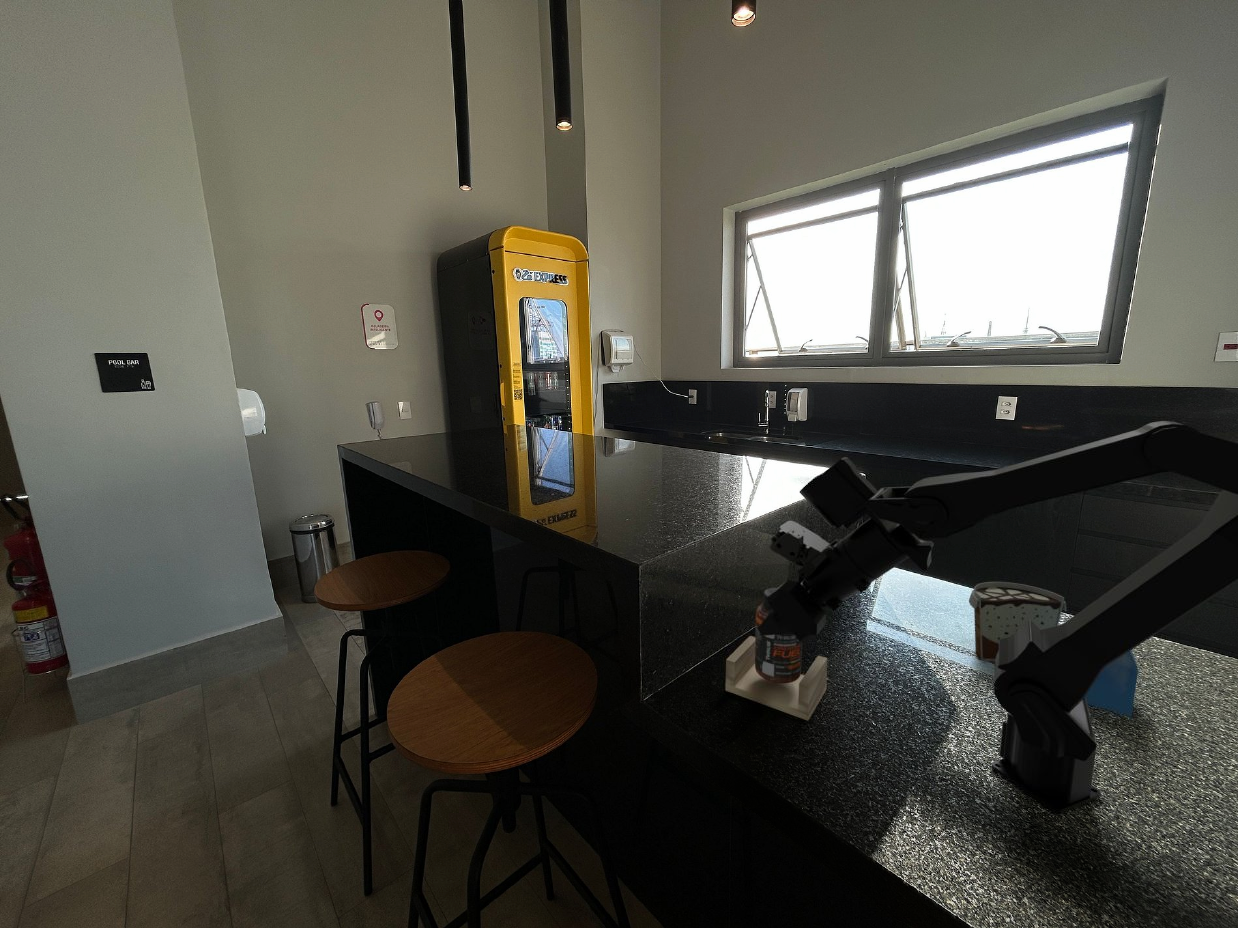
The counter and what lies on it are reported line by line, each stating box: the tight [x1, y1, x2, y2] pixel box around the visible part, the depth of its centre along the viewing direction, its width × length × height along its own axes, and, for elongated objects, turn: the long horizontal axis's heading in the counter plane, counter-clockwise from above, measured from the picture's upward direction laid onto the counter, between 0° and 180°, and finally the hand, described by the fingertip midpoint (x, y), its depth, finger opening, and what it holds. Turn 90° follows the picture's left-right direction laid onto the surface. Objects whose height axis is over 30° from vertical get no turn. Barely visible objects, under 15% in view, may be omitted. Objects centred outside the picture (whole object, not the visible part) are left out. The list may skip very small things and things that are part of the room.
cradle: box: [725, 635, 828, 721], centre depth 69 cm, size 11×8×4 cm
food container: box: [968, 581, 1068, 662], centre depth 77 cm, size 12×6×10 cm, turn 84°
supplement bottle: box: [755, 587, 803, 684], centre depth 68 cm, size 6×6×11 cm
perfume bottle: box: [1085, 649, 1139, 717], centre depth 66 cm, size 6×6×12 cm
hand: (768, 622), depth 68 cm, fingers closed on supplement bottle, 6 cm apart
